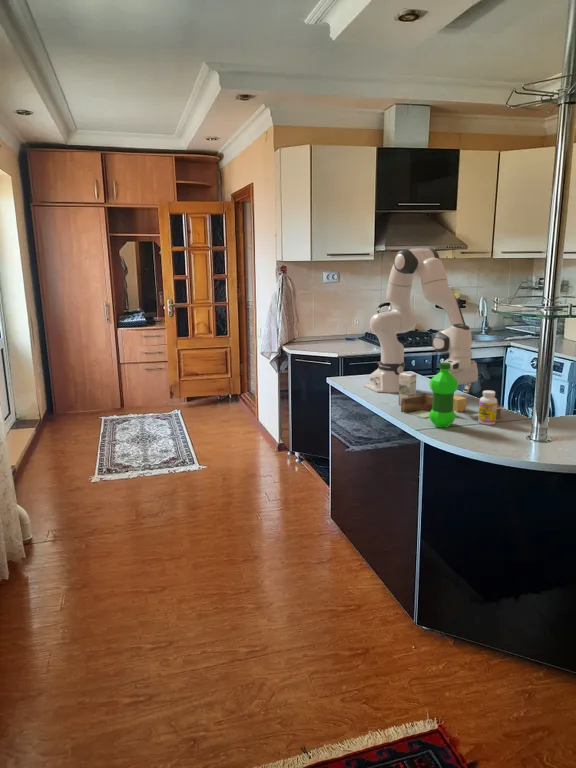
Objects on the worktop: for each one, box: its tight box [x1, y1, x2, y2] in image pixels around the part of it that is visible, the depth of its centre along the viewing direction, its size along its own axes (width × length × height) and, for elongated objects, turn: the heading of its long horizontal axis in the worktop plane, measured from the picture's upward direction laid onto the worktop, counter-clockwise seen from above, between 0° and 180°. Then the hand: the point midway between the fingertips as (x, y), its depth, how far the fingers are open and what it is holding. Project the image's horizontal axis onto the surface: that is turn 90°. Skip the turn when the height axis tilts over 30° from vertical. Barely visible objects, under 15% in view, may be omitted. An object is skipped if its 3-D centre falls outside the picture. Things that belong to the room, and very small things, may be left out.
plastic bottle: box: [428, 361, 459, 428], centre depth 218 cm, size 10×10×25 cm
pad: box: [409, 409, 430, 419], centre depth 236 cm, size 8×8×1 cm
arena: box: [400, 393, 433, 414], centre depth 237 cm, size 16×14×6 cm
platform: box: [496, 402, 505, 418], centre depth 230 cm, size 12×18×7 cm, turn 108°
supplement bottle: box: [477, 390, 498, 426], centre depth 222 cm, size 7×7×13 cm
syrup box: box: [398, 371, 417, 406], centre depth 250 cm, size 6×6×14 cm
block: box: [453, 395, 468, 413], centre depth 242 cm, size 6×6×6 cm
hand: (458, 394), depth 240 cm, fingers open, 8 cm apart
